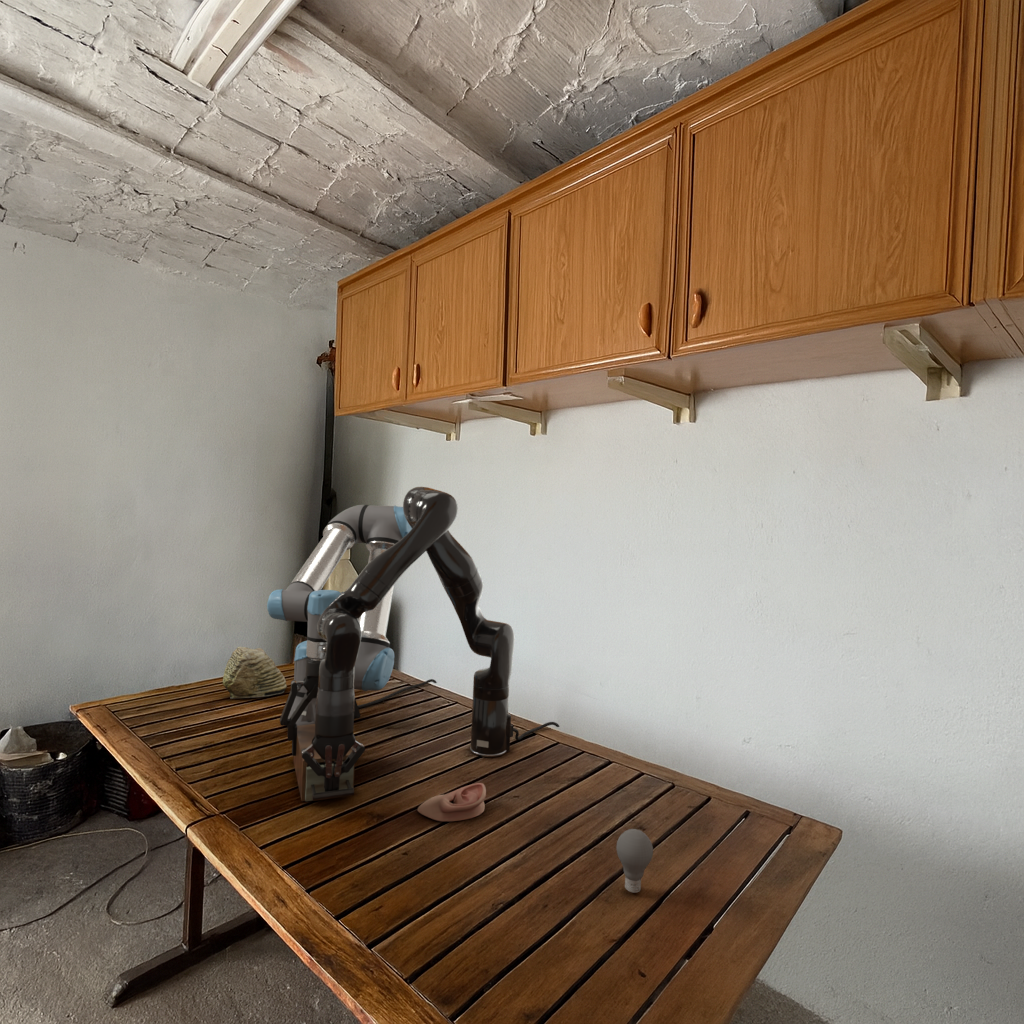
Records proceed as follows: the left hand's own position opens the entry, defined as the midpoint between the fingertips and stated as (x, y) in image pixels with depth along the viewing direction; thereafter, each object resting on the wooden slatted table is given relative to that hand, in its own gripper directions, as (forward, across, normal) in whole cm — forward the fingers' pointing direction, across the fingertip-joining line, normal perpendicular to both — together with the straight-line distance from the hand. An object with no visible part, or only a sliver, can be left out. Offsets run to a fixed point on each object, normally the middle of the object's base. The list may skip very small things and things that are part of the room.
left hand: (319, 750), depth 148 cm
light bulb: (+4, +43, -65) cm, 78 cm away
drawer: (+3, 0, -12) cm, 12 cm away
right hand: (0, 0, -22) cm, 22 cm away
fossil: (+4, -13, +60) cm, 61 cm away
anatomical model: (+4, +23, -29) cm, 38 cm away
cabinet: (+4, 0, -6) cm, 7 cm away
